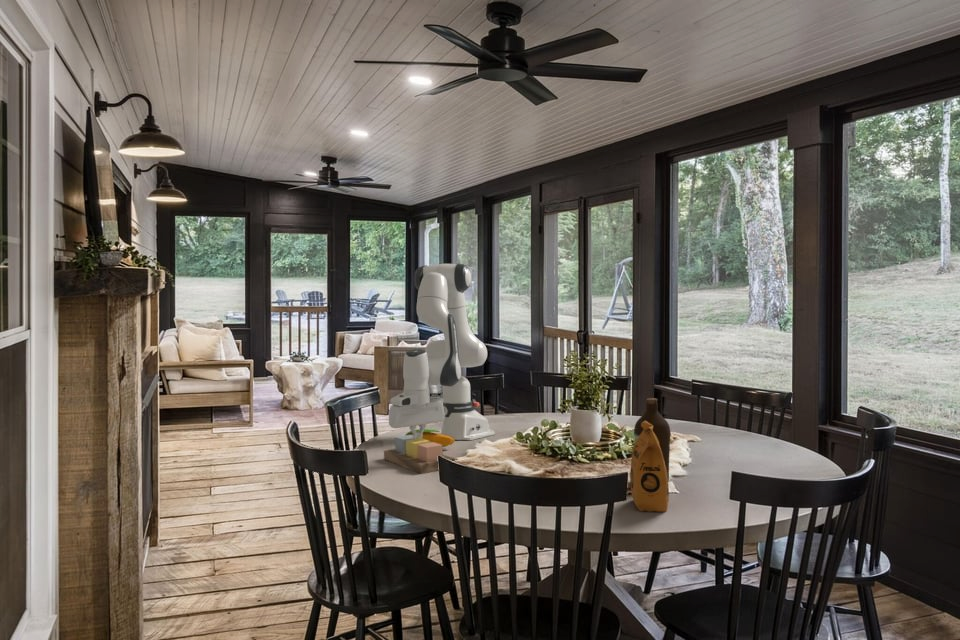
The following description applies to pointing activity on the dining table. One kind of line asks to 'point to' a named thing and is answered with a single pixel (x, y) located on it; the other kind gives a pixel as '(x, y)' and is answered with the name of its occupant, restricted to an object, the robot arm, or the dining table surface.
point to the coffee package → (649, 473)
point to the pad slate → (402, 443)
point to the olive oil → (656, 428)
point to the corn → (435, 437)
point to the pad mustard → (414, 446)
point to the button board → (412, 461)
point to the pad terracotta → (429, 451)
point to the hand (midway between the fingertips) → (417, 437)
